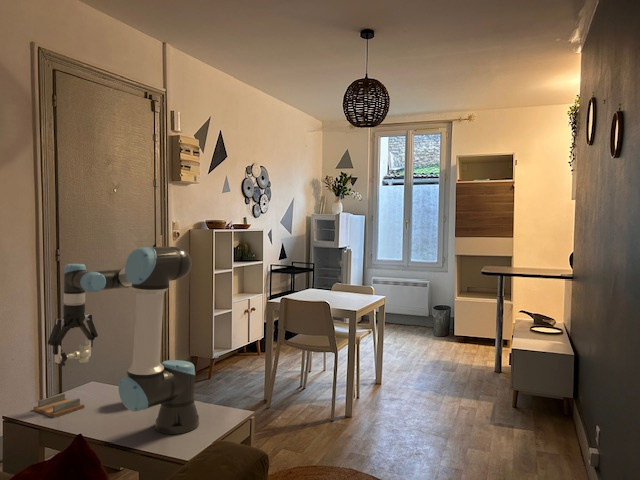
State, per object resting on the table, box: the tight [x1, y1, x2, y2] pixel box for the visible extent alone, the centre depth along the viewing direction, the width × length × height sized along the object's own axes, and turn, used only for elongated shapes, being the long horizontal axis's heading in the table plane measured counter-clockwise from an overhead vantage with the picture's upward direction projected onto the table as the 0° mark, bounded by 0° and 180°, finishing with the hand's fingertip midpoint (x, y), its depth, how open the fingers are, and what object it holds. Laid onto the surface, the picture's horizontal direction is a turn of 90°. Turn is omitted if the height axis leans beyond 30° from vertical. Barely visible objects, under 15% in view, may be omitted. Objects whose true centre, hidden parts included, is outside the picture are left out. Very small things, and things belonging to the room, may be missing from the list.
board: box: [33, 392, 85, 419], centre depth 188 cm, size 14×12×4 cm
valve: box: [55, 343, 90, 368], centre depth 189 cm, size 7×7×12 cm
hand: (73, 359), depth 189 cm, fingers closed on valve, 11 cm apart
